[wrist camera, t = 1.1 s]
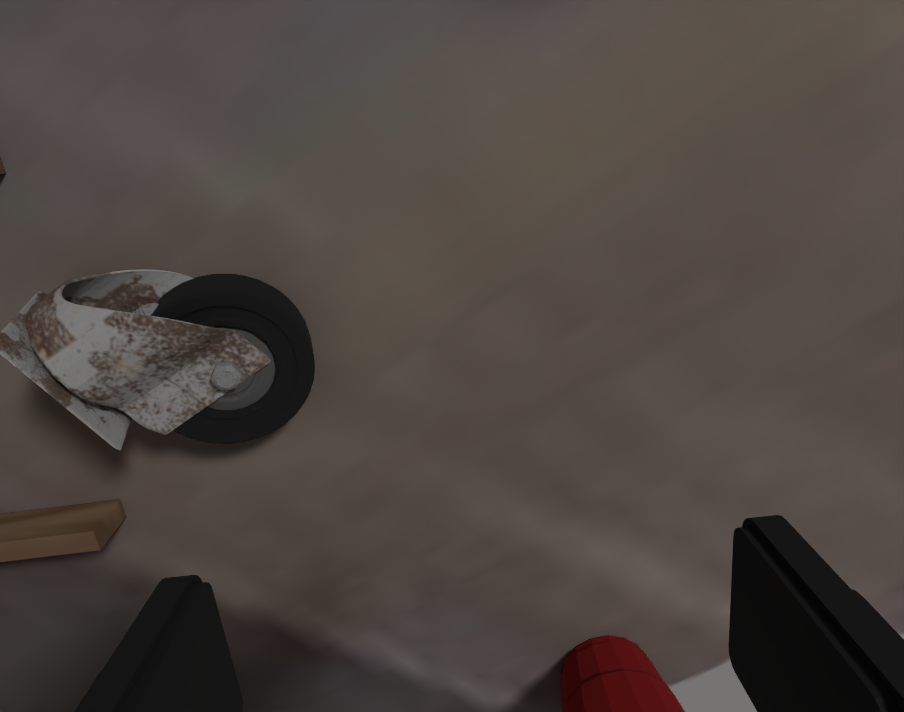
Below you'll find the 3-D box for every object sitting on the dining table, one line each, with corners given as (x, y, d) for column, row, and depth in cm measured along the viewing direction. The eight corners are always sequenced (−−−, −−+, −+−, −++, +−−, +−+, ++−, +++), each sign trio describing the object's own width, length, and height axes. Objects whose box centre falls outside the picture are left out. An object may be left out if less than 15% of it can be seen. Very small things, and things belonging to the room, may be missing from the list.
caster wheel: (337, 345, 36) (195, 444, 36) (199, 177, 30) (30, 295, 30) (353, 402, 30) (183, 520, 30) (185, 206, 24) (-24, 353, 24)
